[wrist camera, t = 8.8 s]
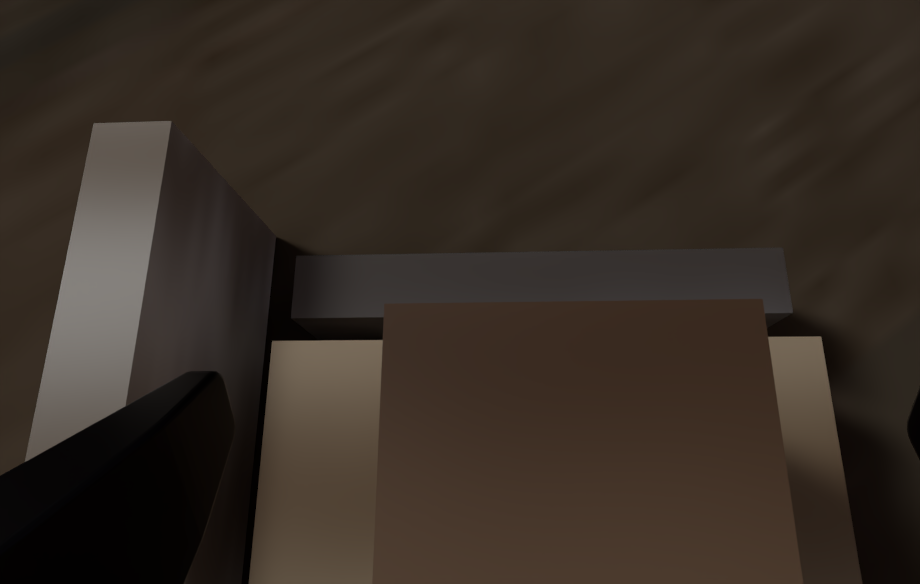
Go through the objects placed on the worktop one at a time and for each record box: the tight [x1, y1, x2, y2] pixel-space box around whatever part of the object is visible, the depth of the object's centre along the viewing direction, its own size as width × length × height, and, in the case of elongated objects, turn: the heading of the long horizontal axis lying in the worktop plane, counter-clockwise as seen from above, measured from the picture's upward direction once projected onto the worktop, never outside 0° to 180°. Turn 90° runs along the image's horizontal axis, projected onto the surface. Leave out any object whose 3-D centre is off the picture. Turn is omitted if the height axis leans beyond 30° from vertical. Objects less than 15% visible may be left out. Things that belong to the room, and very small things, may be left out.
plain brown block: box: [372, 299, 803, 584], centre depth 11 cm, size 4×4×10 cm
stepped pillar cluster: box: [25, 121, 862, 584], centre depth 13 cm, size 14×14×6 cm
